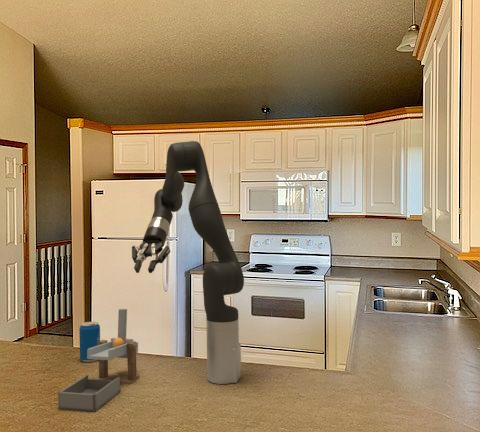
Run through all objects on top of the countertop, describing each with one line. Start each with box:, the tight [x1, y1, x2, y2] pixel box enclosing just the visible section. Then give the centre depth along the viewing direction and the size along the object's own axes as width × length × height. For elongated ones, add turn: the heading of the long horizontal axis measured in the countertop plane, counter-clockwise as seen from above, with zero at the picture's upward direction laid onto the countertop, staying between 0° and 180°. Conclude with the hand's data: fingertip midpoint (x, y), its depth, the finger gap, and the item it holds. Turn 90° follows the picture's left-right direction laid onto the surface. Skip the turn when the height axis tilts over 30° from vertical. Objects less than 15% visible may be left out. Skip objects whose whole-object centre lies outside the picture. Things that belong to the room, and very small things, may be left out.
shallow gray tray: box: [57, 374, 121, 413], centre depth 123 cm, size 10×13×4 cm
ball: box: [113, 337, 124, 348], centre depth 139 cm, size 3×3×3 cm
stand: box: [97, 339, 140, 385], centre depth 138 cm, size 12×5×11 cm, turn 77°
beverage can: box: [79, 321, 101, 363], centre depth 157 cm, size 6×6×12 cm
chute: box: [87, 308, 139, 361], centre depth 137 cm, size 7×18×14 cm, turn 167°
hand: (143, 271), depth 156 cm, fingers open, 4 cm apart
